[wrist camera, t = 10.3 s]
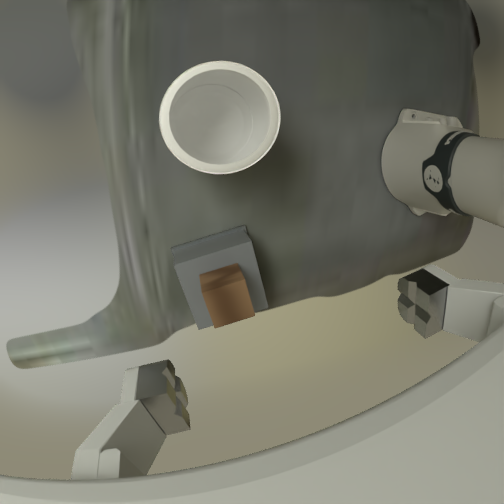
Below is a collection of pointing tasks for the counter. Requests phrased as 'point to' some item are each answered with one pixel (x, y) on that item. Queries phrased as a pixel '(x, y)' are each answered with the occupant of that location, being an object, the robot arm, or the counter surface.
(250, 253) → the pedestal
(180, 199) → the counter surface
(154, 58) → the counter surface
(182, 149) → the jar
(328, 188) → the counter surface
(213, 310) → the cube
